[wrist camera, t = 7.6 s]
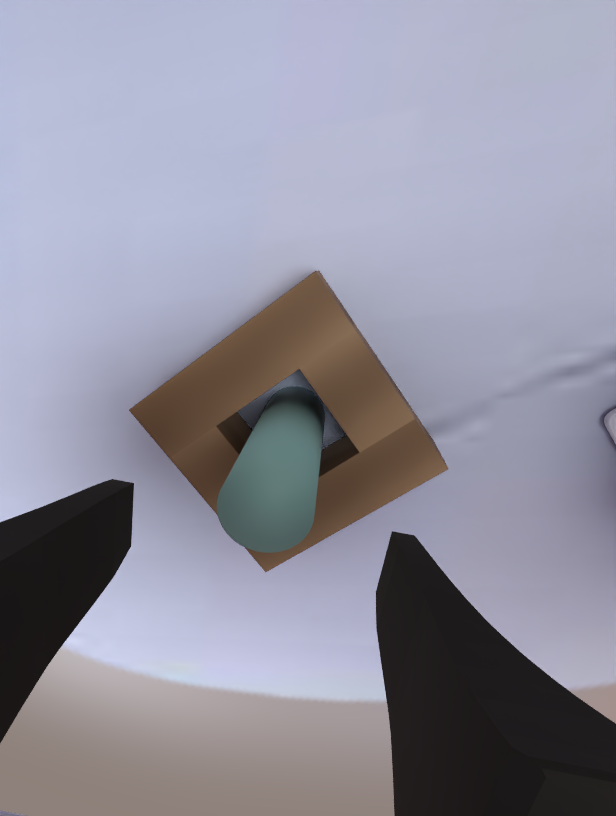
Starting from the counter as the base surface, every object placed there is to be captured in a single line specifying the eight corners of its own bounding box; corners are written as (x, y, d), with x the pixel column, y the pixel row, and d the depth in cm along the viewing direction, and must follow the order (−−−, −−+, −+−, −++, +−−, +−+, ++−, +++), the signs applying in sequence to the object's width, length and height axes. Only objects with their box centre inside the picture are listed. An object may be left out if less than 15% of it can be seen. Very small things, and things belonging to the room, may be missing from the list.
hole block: (434, 442, 22) (448, 468, 19) (274, 536, 24) (265, 572, 21) (319, 270, 20) (315, 271, 17) (156, 391, 22) (128, 410, 19)
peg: (336, 424, 22) (333, 524, 13) (287, 453, 22) (254, 567, 14) (302, 375, 21) (276, 447, 13) (253, 407, 22) (197, 496, 13)
